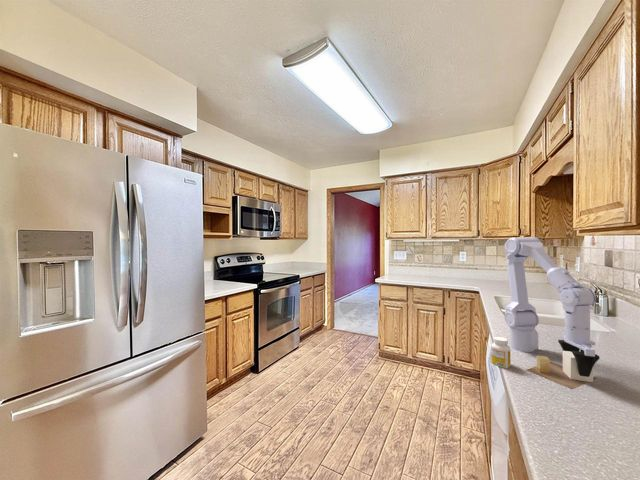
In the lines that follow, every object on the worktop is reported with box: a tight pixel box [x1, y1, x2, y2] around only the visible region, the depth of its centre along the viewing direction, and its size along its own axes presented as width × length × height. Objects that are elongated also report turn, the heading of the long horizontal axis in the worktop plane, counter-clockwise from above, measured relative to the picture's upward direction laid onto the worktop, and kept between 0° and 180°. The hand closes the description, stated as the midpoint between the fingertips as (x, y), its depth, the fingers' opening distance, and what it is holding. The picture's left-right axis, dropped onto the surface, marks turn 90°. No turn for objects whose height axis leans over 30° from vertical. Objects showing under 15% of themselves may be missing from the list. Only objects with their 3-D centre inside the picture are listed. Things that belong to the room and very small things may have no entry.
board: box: [526, 360, 597, 390], centre depth 84 cm, size 14×12×1 cm
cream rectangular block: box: [562, 350, 594, 383], centre depth 83 cm, size 5×5×7 cm
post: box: [536, 355, 551, 374], centre depth 86 cm, size 3×3×4 cm
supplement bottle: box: [490, 336, 511, 369], centre depth 91 cm, size 5×5×10 cm
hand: (577, 369), depth 83 cm, fingers open, 7 cm apart
